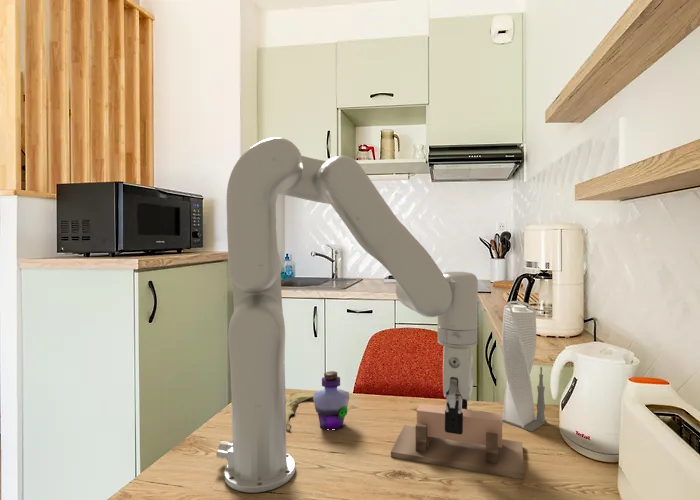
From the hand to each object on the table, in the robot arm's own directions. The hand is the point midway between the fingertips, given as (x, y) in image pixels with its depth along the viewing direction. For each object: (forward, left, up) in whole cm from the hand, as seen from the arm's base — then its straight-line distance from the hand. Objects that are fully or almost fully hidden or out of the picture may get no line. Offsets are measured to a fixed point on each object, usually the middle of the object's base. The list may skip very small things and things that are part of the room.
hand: (456, 421), depth 85 cm
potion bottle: (-28, +3, -6) cm, 29 cm away
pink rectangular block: (0, 0, -3) cm, 3 cm away
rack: (0, 0, -6) cm, 6 cm away
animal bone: (-38, +7, -7) cm, 40 cm away
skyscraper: (+12, +18, -6) cm, 23 cm away
